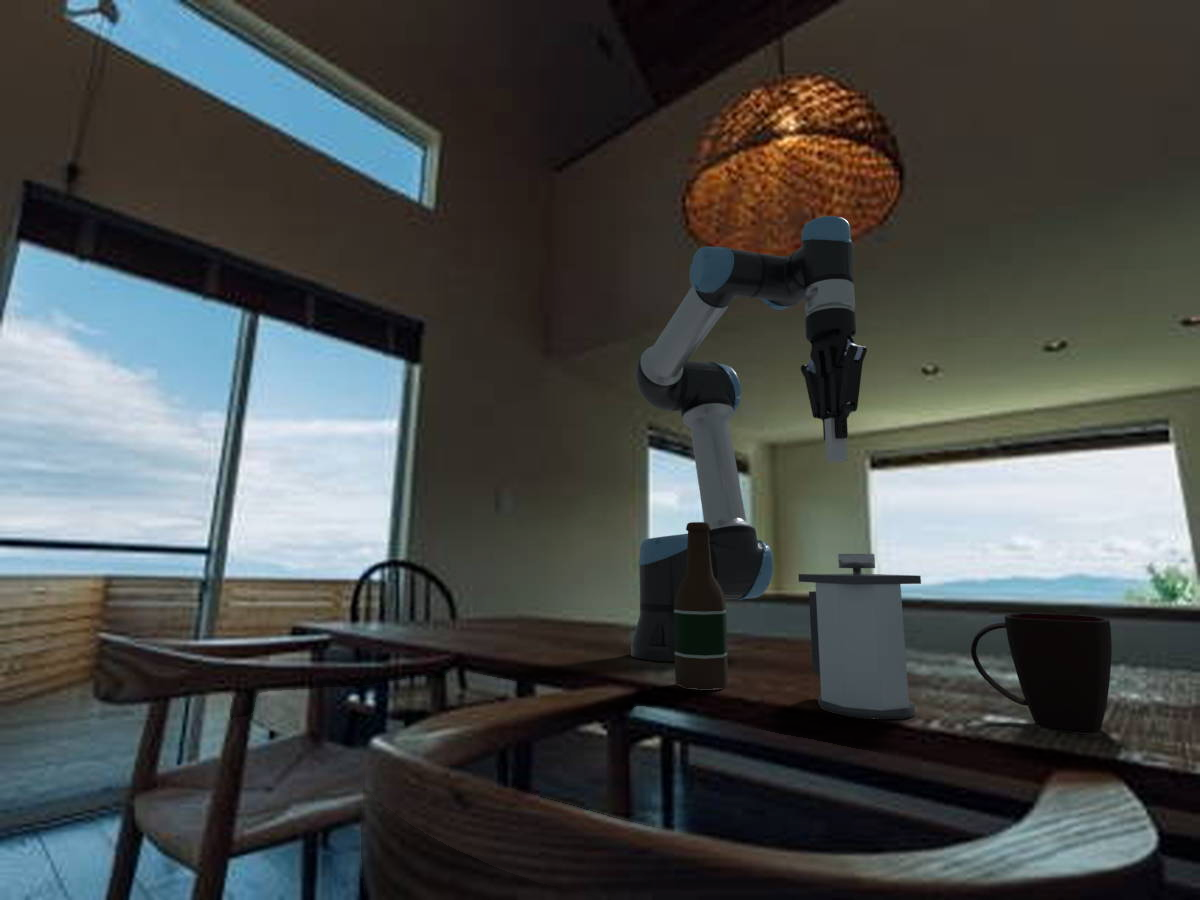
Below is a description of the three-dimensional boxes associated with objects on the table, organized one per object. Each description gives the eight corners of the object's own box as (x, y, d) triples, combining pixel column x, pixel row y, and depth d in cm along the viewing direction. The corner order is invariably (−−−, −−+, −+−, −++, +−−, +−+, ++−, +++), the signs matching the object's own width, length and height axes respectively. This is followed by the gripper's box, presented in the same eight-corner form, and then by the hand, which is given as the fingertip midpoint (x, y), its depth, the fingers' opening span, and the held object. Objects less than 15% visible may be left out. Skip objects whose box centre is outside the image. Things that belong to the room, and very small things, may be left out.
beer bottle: (696, 679, 101) (693, 524, 105) (739, 686, 95) (734, 522, 99) (664, 686, 95) (662, 522, 99) (707, 693, 90) (703, 520, 94)
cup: (1124, 744, 66) (1109, 623, 68) (969, 723, 74) (960, 615, 76) (1123, 725, 74) (1109, 616, 76) (983, 707, 82) (974, 610, 84)
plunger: (834, 621, 84) (830, 553, 86) (861, 620, 86) (857, 554, 87) (858, 624, 80) (854, 553, 82) (886, 623, 82) (882, 553, 83)
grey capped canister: (785, 698, 87) (780, 573, 90) (852, 692, 91) (845, 573, 94) (862, 723, 74) (853, 576, 77) (936, 715, 78) (925, 575, 81)
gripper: (785, 324, 108) (790, 464, 105) (838, 296, 96) (845, 453, 92) (822, 329, 111) (828, 466, 107) (878, 302, 98) (887, 456, 95)
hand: (836, 460), depth 100 cm, fingers closed
